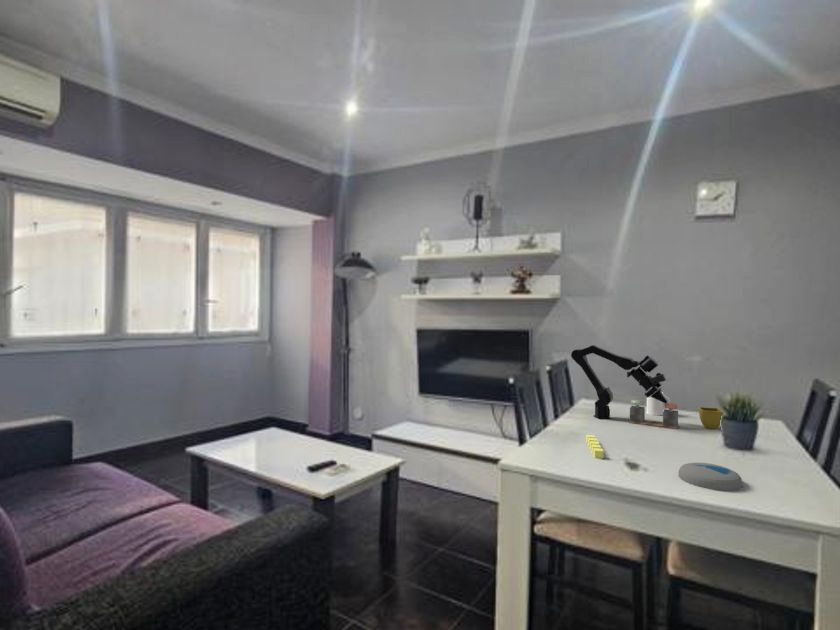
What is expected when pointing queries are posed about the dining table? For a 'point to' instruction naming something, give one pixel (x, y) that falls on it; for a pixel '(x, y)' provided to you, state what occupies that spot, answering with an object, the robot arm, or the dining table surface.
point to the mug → (655, 406)
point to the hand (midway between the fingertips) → (666, 402)
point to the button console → (668, 421)
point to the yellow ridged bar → (594, 446)
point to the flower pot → (710, 417)
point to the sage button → (637, 402)
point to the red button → (670, 406)
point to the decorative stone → (710, 476)
